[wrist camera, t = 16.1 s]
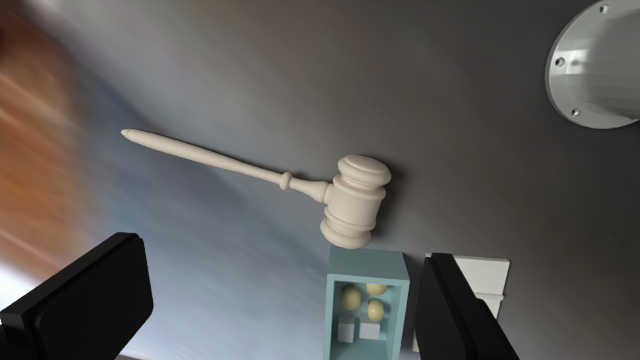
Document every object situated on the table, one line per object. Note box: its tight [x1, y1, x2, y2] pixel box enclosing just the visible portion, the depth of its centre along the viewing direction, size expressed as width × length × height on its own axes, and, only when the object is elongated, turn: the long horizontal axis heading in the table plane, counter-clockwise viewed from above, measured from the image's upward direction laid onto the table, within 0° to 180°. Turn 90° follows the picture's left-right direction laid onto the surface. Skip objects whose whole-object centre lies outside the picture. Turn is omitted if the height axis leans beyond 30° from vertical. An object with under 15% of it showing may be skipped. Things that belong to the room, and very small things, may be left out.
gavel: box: [121, 129, 391, 249], centre depth 38 cm, size 10×6×32 cm
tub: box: [323, 247, 410, 360], centre depth 41 cm, size 9×14×6 cm, turn 178°
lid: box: [412, 253, 510, 352], centre depth 42 cm, size 10×19×4 cm, turn 178°
